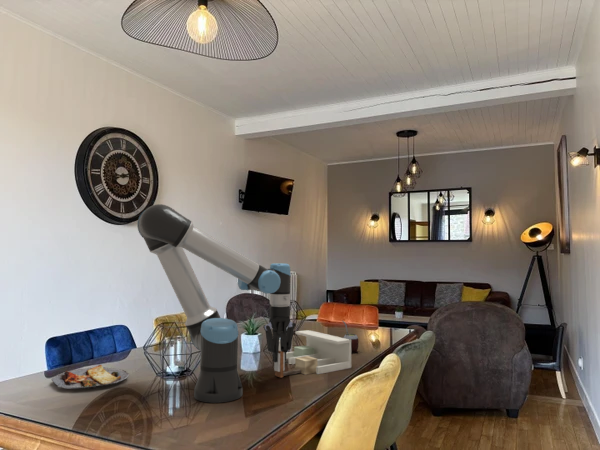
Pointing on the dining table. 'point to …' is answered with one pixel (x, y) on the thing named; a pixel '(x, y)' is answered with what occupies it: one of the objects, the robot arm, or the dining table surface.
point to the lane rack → (326, 351)
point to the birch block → (298, 366)
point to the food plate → (89, 377)
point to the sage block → (300, 351)
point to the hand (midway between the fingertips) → (279, 370)
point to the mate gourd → (352, 340)
